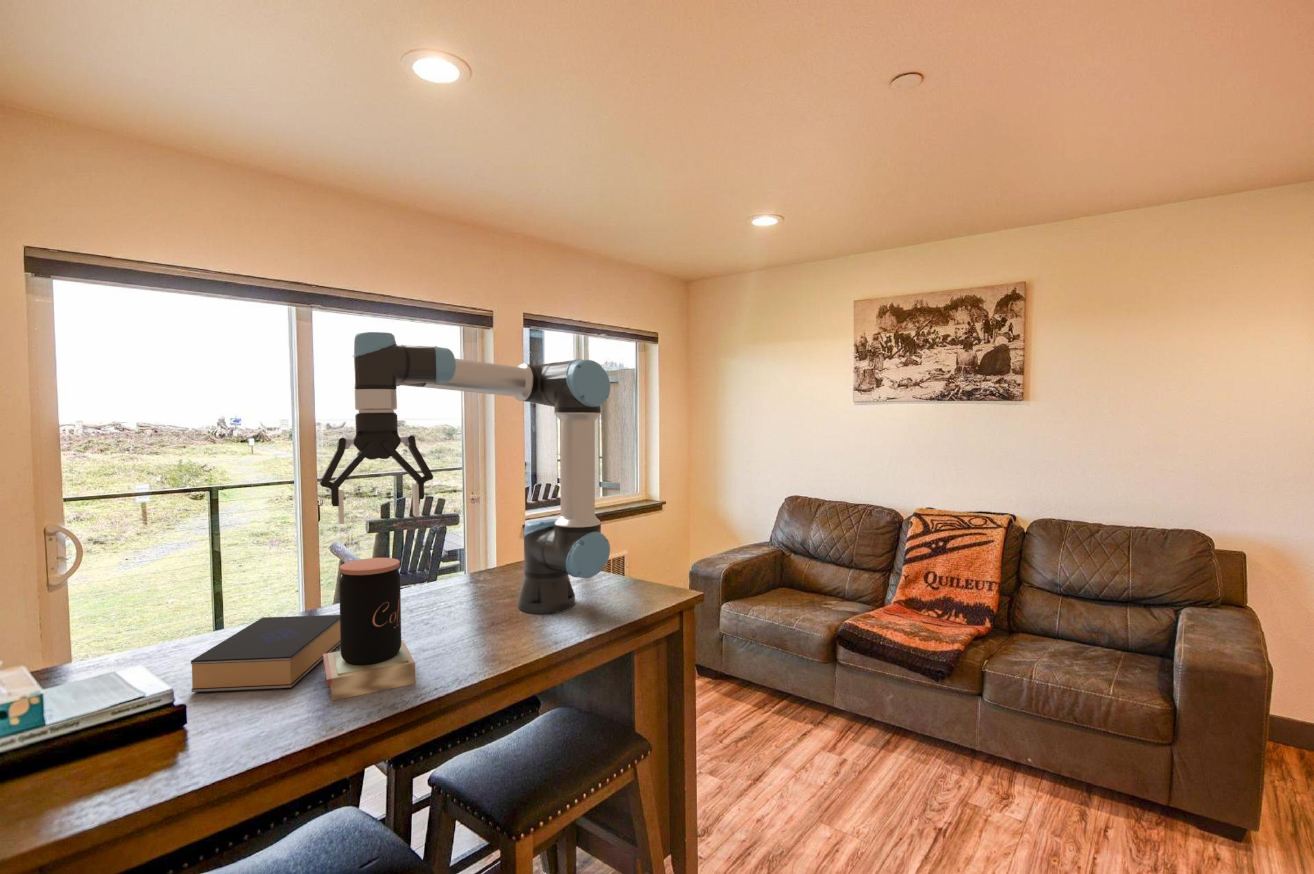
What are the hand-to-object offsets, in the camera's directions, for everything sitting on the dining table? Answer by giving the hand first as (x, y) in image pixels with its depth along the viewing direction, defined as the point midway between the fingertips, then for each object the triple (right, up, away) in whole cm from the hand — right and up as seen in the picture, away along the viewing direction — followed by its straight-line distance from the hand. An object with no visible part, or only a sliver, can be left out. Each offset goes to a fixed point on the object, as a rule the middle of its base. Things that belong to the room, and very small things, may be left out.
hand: (379, 519), depth 123 cm
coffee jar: (-1, -26, -2) cm, 26 cm away
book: (-23, -31, +4) cm, 39 cm away
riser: (-1, -30, -2) cm, 31 cm away
